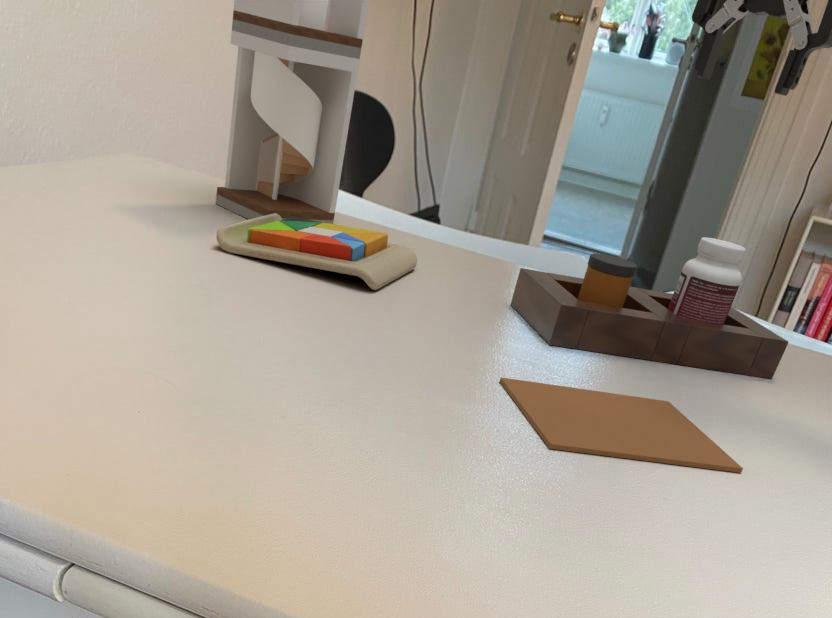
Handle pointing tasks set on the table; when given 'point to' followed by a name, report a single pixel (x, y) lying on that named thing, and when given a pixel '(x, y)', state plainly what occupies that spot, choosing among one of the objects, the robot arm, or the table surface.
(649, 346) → the bottle rack
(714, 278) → the pill bottle
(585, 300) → the spice jar
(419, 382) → the table surface
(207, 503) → the table surface
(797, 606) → the table surface
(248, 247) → the wooden puzzle
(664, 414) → the cork mat
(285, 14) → the spiral staircase model
